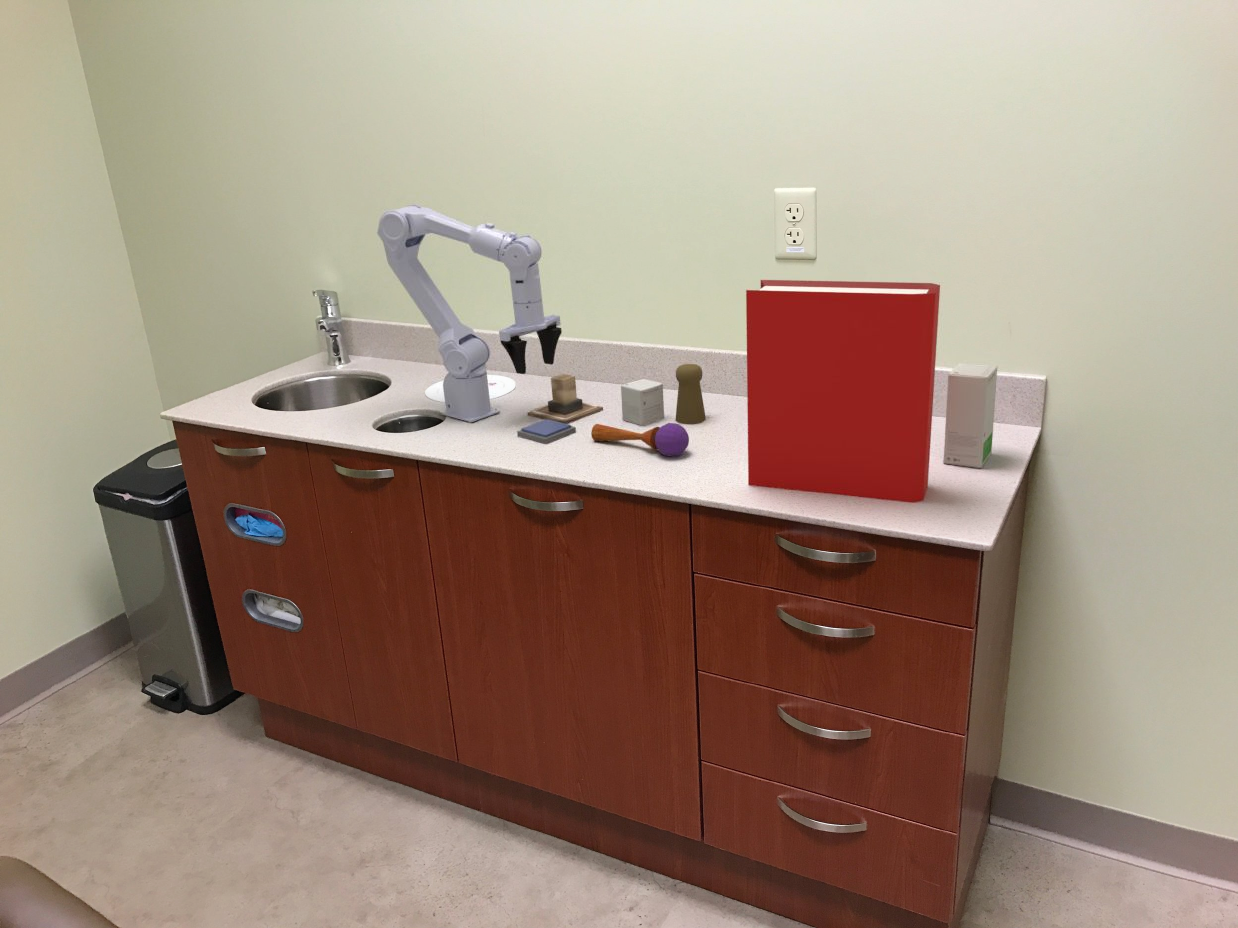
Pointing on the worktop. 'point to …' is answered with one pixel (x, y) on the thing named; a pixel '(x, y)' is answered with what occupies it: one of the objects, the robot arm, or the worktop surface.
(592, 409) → the board
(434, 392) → the worktop surface
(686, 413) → the cork
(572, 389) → the stamp
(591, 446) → the worktop surface
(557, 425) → the ink pad
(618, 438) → the purple maraca
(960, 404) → the skincare box
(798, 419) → the book
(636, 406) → the skincare box
